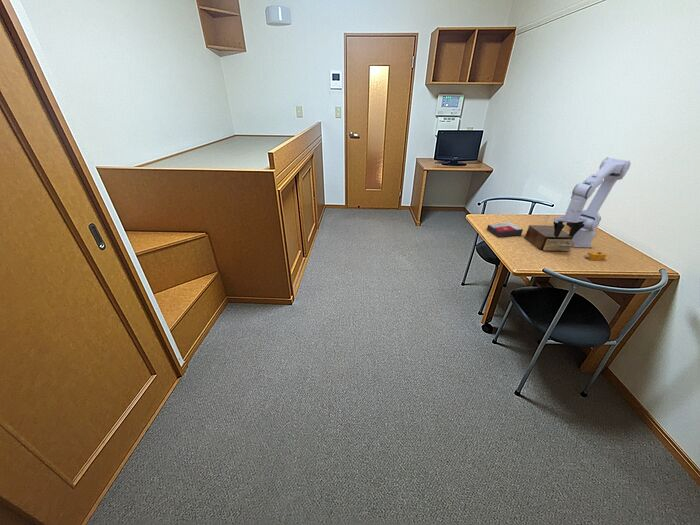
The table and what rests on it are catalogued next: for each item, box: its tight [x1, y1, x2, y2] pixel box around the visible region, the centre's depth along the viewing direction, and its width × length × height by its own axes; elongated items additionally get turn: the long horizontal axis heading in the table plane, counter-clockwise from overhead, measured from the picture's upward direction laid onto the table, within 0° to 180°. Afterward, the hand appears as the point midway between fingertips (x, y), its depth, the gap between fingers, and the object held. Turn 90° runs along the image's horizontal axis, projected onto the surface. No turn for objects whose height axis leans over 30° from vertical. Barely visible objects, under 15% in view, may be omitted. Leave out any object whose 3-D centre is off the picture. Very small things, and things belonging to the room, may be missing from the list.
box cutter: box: [584, 251, 607, 261], centre depth 143 cm, size 9×3×3 cm, turn 92°
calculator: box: [486, 221, 524, 238], centre depth 167 cm, size 11×4×15 cm
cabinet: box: [524, 224, 573, 251], centre depth 155 cm, size 15×15×8 cm
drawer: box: [542, 238, 575, 252], centre depth 151 cm, size 18×13×6 cm
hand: (563, 236), depth 143 cm, fingers open, 7 cm apart
